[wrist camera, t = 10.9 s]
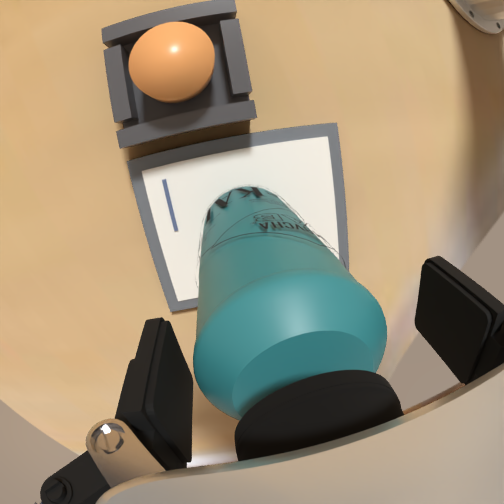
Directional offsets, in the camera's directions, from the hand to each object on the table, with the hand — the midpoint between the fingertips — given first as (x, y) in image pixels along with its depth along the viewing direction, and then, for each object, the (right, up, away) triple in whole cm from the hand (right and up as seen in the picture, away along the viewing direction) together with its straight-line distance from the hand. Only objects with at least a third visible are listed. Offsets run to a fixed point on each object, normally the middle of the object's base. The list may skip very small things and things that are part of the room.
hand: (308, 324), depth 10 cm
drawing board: (-2, +5, +14) cm, 15 cm away
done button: (-7, +14, +6) cm, 17 cm away
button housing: (-7, +15, +9) cm, 19 cm away
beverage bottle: (-3, +5, +13) cm, 14 cm away
